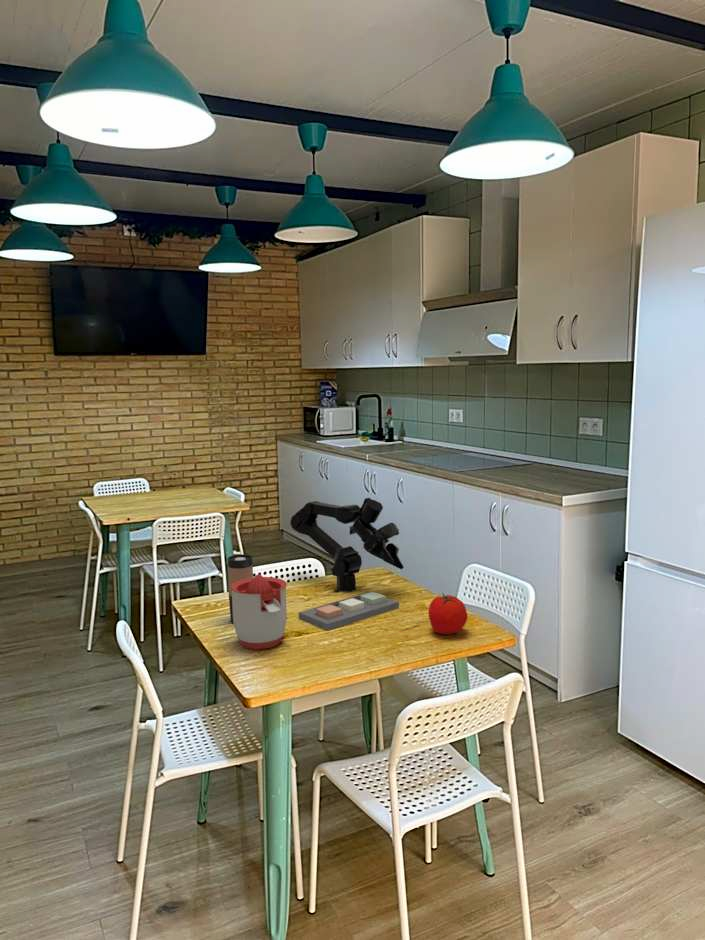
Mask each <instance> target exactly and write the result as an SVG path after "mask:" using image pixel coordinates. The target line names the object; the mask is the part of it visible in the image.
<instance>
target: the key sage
mask: <svg viewBox="0 0 705 940" xmlns="http://www.w3.org/2000/svg"><path fill="white" fill-rule="evenodd" d="M386 598H387V596H386V595H384V594H381V593H377V592H376V591H372V592H371V593H368V594H365V595H362V596H361V601H362V602H364V603H365V604H368V605H371V606H374V605H377V604H381V603H384V602H386Z"/></svg>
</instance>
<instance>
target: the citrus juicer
mask: <svg viewBox="0 0 705 940" xmlns="http://www.w3.org/2000/svg"><path fill="white" fill-rule="evenodd" d="M287 586H288V584H287V581H286V580H284V579H282V578H279V577H271V576H263V575H261V574H260V573H258V574H256V575H255V576H253V578H247V579H242V580H239V581H237V582H235V583H233V584H232V585H231V589H232V608H233V622H234V624H233V626H234V627H233V628H234V631H235V633H236V637H237V640H238V641H239V644H240V645H241V646H242V647H244V648H246V649H250V650H252V651H253V650H254V651H258V650H266V649H270V648H273V647H276V646H278V645H280V644H281V642H282V640H283V637H284V636H285V630H286V627H287V620H288V619H287V618H288V617H287V616H288V614H287V612H288V611H287Z"/></svg>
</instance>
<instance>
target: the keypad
mask: <svg viewBox="0 0 705 940" xmlns="http://www.w3.org/2000/svg"><path fill="white" fill-rule="evenodd" d="M368 593H372V592H370V591H368V592H365V593H361V594H358V595H354V596H351V597H346V598H344V599H340V600H336V601H334V602H330V603H327V604H322V605H320V606H315V607H312V608H308V609H305V610H302V611H299V612H298V620H300V621H303V622H306V623H308V624H310V625H313V626H315V627H318V628H319V629H322V630H325V631H327V632H329V631H331V630H334V629H337V628H341V627H344V626H347V625H350V624H354V623H356V622H359V621H364V620H366V619H369V618H372V617H375V616H378V615H382V614H385V613H388V612H390V611H394V610H398V609H399V608H400V606H399V605H400V603H399V600H398V601H397V600H394V599H391V598H388V597H386V602H384V603H381V604H377V605H374V606H371V605H368V604H365V603H364V609H361V610H358V611H355V612H351V613H350V612H347V611H345V610H342V616H338V617H335V618H332V619H328V620H327V619H324V618H322V617H319V616H317V615H316V609H317V608H320V607H324V606H327V605H333V606H336V607H338V608H339V602H341V601H344V600H348V599H351V598H354V599H357V600H359V601H361V596H362V595H365V594H368Z"/></svg>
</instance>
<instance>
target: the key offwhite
mask: <svg viewBox="0 0 705 940" xmlns="http://www.w3.org/2000/svg"><path fill="white" fill-rule="evenodd" d="M339 608H341V609H342V610H345V611H347V612H350V613H351V612H355V611H358V610H361V609H364V602H362V601H359V600H357V599H354V598H351V599H348V600H344V601H341V602H339Z"/></svg>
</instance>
